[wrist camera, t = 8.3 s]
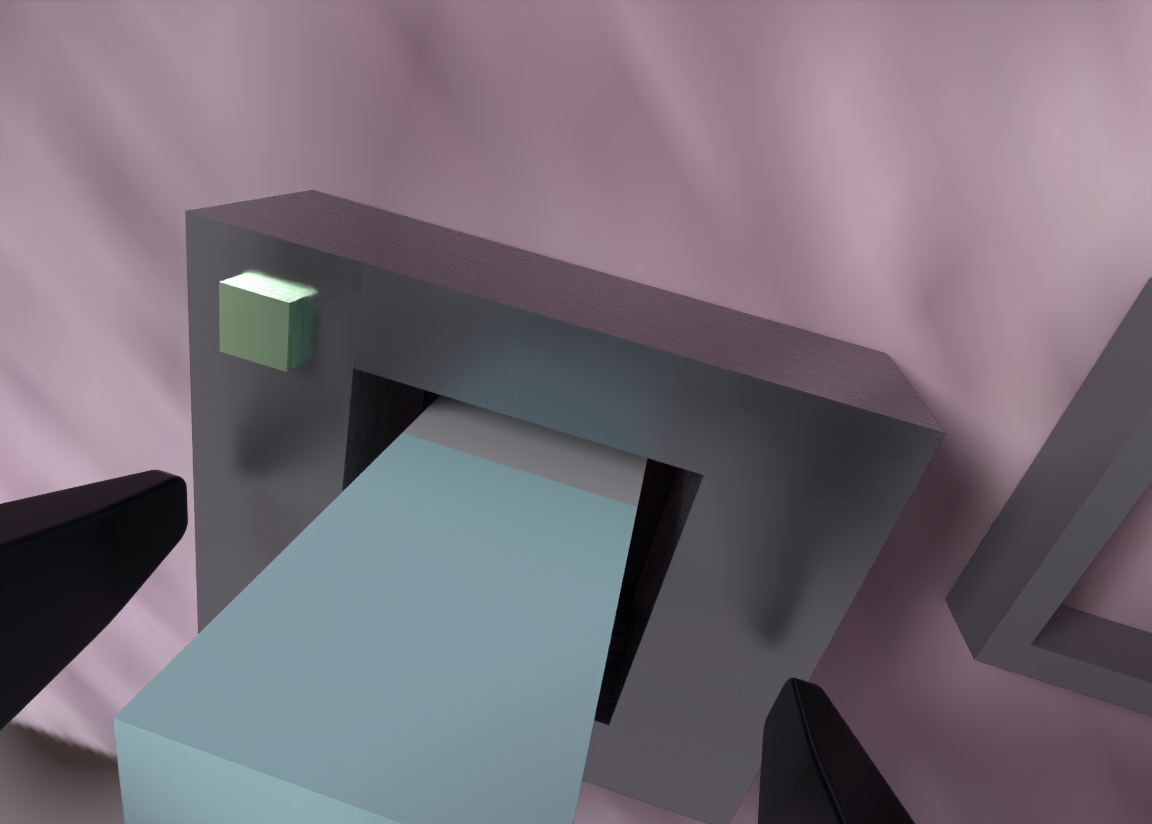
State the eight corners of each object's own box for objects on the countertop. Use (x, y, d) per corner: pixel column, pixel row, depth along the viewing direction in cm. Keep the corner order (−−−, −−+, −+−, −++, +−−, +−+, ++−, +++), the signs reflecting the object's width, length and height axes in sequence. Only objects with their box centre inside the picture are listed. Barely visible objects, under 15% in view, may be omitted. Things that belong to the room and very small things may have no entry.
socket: (886, 353, 10) (953, 444, 8) (723, 693, 14) (726, 846, 11) (312, 189, 11) (167, 213, 8) (293, 551, 15) (186, 659, 12)
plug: (655, 419, 12) (561, 882, 5) (605, 568, 13) (476, 1089, 6) (472, 363, 12) (113, 718, 5) (444, 515, 14) (139, 957, 6)
